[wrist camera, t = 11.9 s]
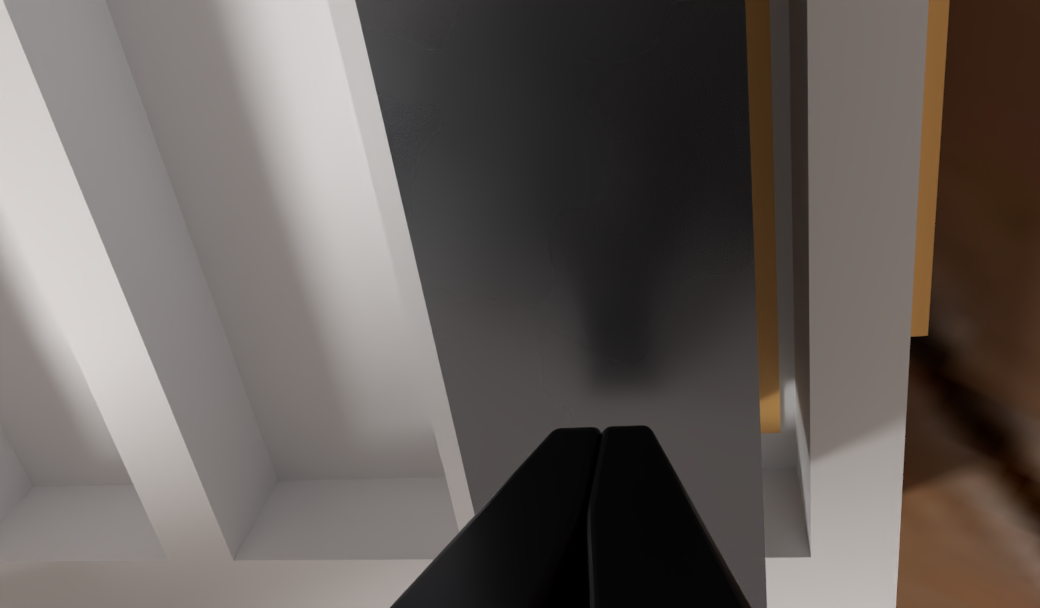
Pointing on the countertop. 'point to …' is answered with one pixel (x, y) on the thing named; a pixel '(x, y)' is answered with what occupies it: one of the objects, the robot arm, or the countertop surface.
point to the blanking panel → (585, 231)
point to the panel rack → (389, 305)
